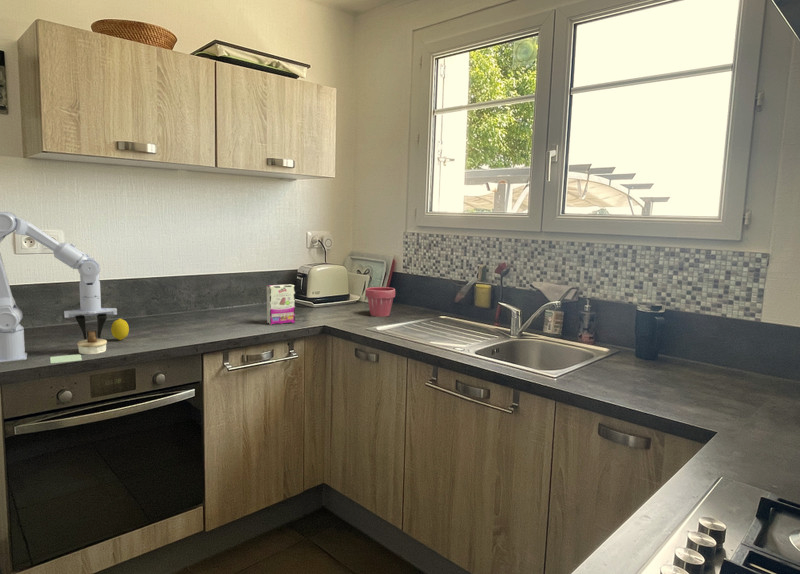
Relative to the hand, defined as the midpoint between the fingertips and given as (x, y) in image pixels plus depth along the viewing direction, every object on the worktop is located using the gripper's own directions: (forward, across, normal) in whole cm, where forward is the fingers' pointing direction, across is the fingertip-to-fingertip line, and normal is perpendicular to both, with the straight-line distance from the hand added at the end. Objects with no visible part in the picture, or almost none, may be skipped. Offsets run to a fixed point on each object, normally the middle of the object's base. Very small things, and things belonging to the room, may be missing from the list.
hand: (92, 338), depth 173 cm
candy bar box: (+5, +72, +20) cm, 75 cm away
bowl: (+5, 0, 0) cm, 5 cm away
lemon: (+5, +10, +14) cm, 17 cm away
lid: (+2, 0, 0) cm, 2 cm away
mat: (+5, -8, -6) cm, 11 cm away
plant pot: (+5, +120, +20) cm, 122 cm away
